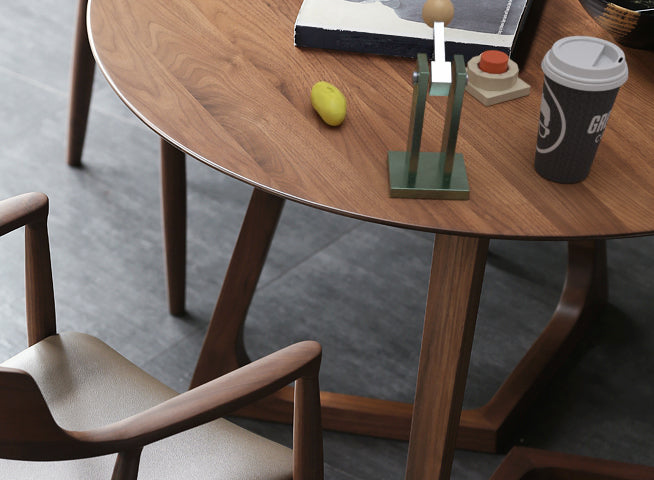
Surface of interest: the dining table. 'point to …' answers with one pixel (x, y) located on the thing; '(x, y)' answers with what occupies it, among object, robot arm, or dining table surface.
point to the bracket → (431, 167)
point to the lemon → (329, 103)
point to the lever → (438, 45)
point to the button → (493, 62)
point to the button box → (494, 83)
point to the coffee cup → (576, 105)
